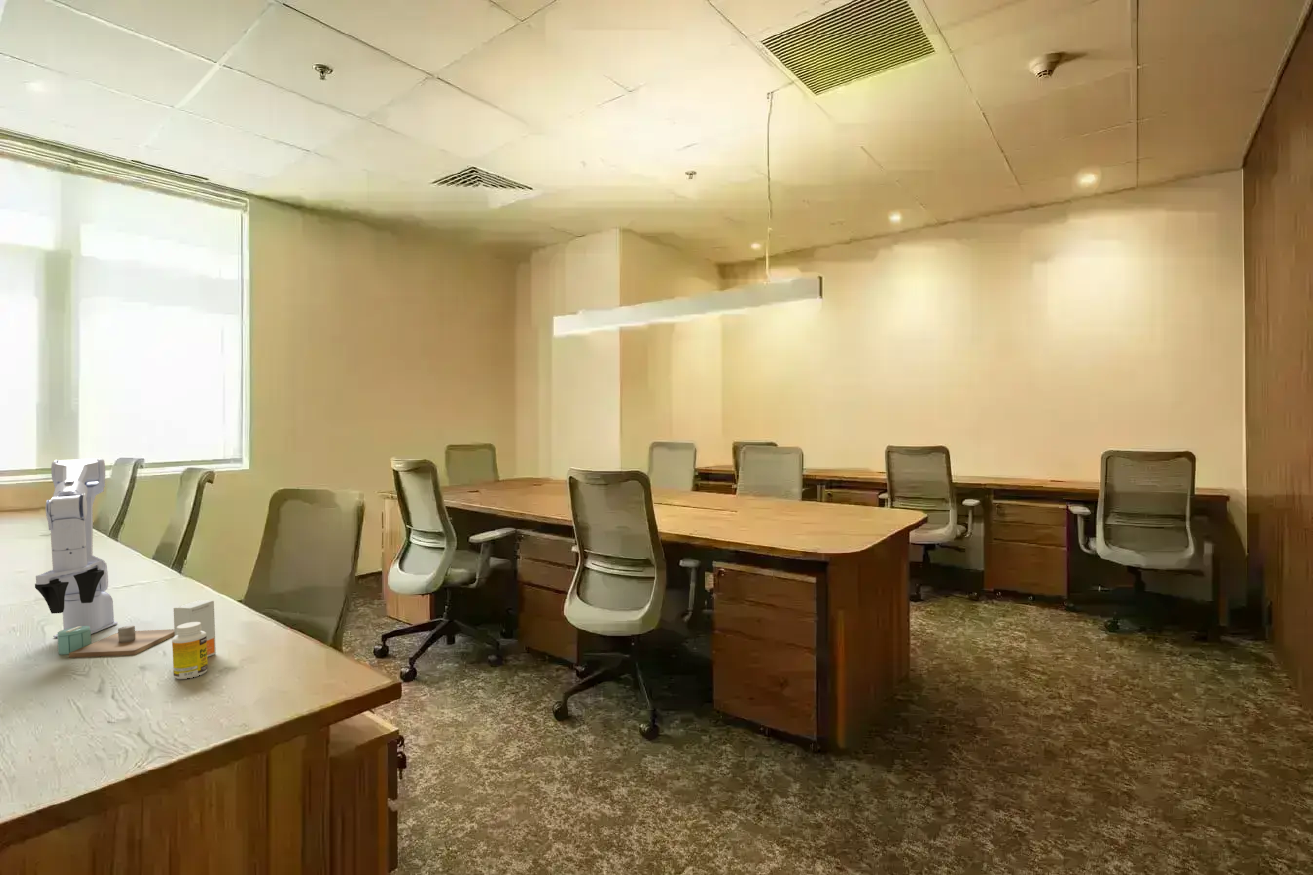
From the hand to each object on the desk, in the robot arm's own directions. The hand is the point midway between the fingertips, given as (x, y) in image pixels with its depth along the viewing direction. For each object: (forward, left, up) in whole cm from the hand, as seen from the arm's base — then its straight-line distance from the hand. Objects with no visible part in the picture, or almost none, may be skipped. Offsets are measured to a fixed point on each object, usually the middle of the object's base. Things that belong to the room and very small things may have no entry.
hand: (72, 607), depth 142 cm
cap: (0, 0, -10) cm, 10 cm away
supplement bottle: (+18, +38, -10) cm, 43 cm away
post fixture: (-2, +10, -10) cm, 14 cm away
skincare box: (+9, +33, -10) cm, 36 cm away
